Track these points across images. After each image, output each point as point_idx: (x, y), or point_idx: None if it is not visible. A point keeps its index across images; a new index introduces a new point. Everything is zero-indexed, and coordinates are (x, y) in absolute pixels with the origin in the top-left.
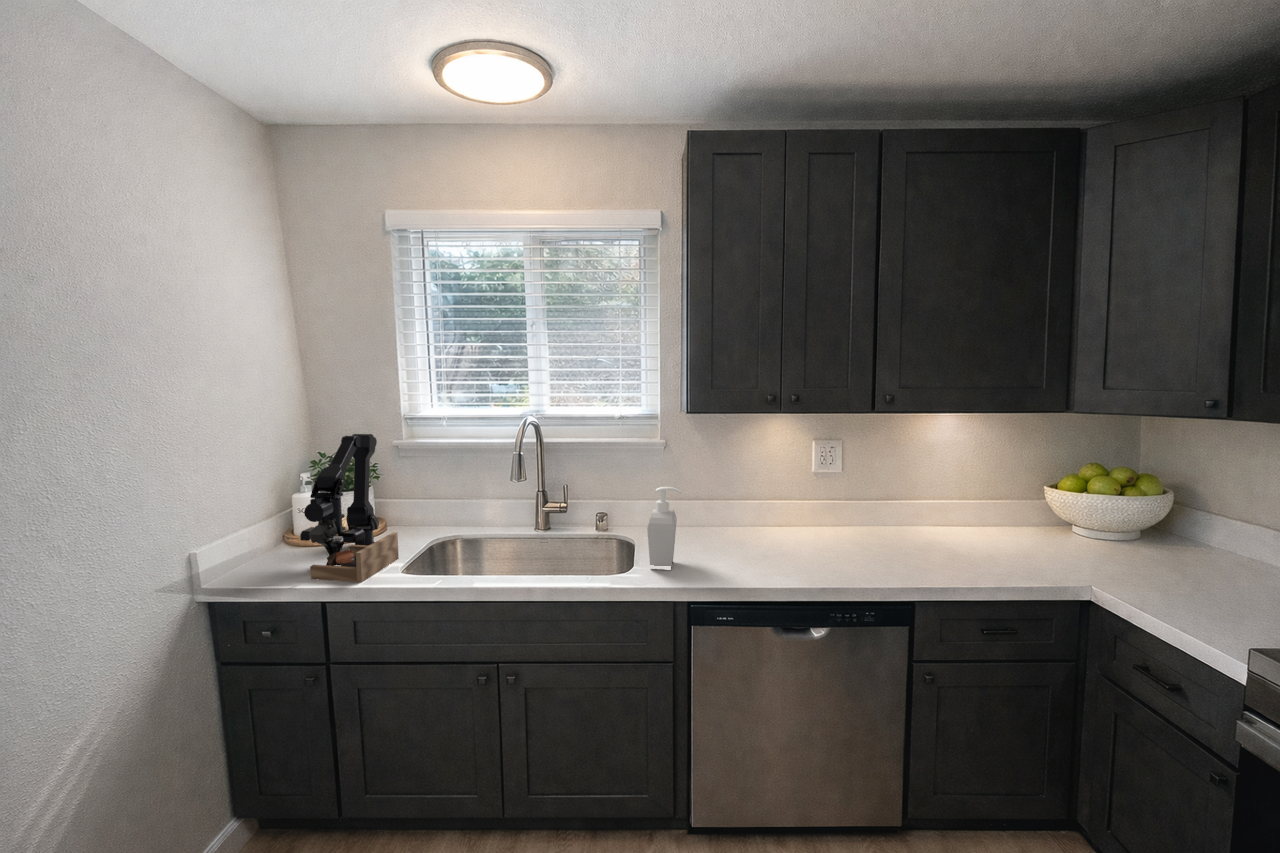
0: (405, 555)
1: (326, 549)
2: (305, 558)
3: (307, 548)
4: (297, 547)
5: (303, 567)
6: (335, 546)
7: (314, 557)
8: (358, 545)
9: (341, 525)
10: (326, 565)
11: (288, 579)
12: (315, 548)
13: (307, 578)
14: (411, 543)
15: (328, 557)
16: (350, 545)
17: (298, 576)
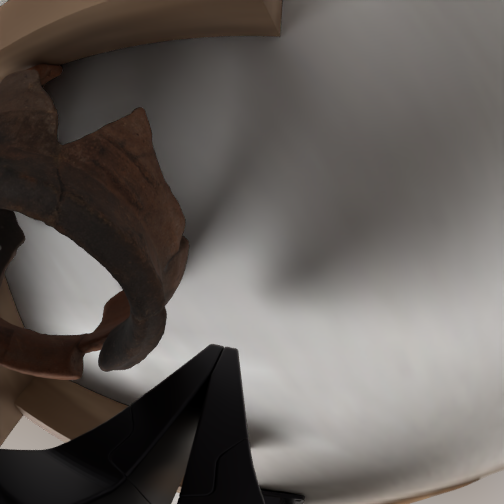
0: None
1: (248, 473)
2: (483, 421)
3: (471, 474)
4: (498, 469)
5: (492, 309)
6: (57, 458)
7: (444, 437)
8: (178, 491)
9: None
10: (41, 24)
11: (492, 15)
12: (446, 481)
13: (336, 10)
14: None
15: (11, 160)
16: None
17: (461, 76)
